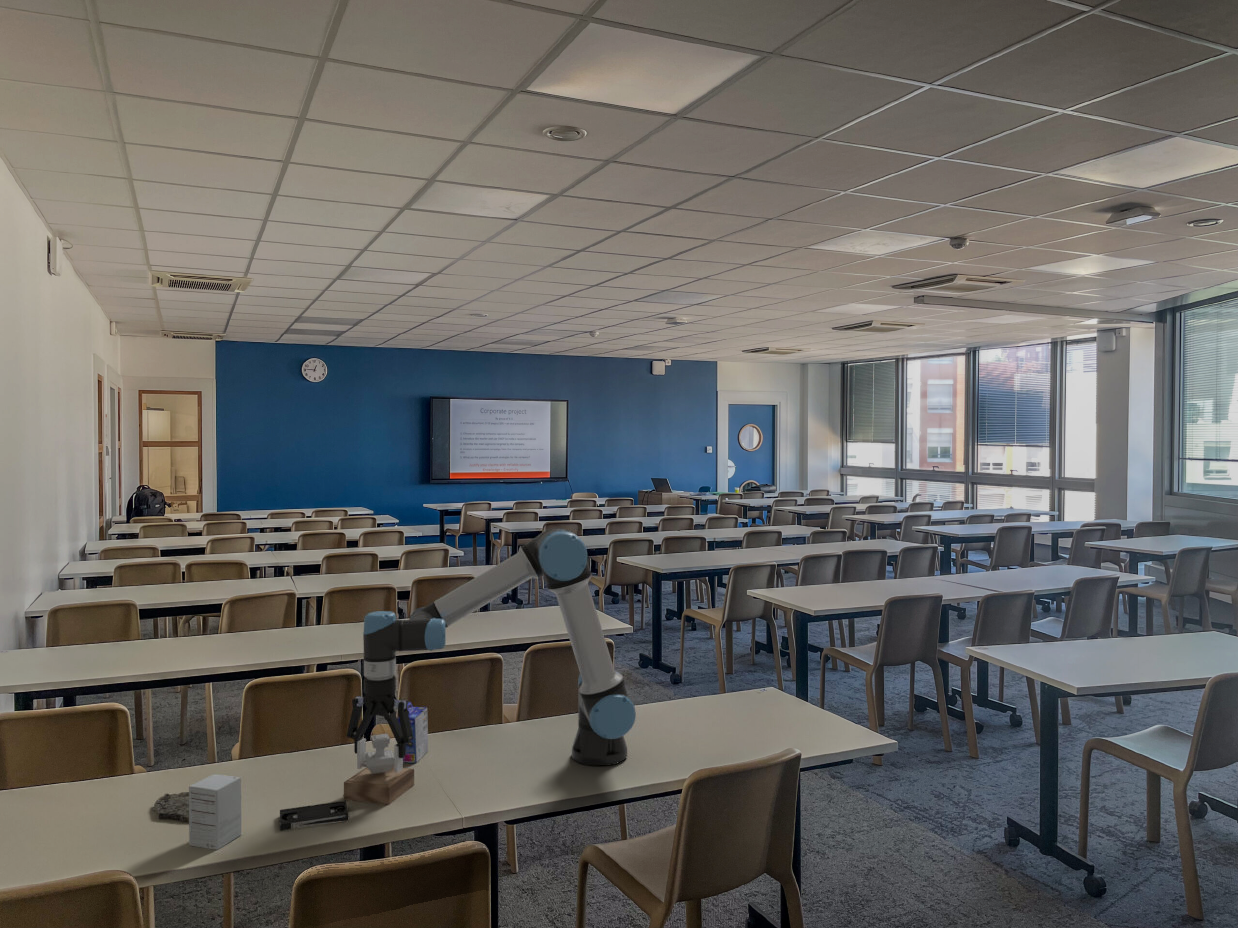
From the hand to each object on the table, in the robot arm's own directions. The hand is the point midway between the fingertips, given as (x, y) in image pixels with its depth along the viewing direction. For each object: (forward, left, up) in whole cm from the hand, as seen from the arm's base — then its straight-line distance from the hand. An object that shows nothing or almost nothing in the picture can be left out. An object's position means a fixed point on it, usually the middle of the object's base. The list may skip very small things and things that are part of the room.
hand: (380, 768), depth 203 cm
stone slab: (+38, +21, -6) cm, 44 cm away
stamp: (0, 0, -1) cm, 1 cm away
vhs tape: (+7, +17, -6) cm, 19 cm away
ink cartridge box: (+4, -24, -6) cm, 25 cm away
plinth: (0, 0, -6) cm, 6 cm away
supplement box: (+20, +32, -6) cm, 38 cm away
